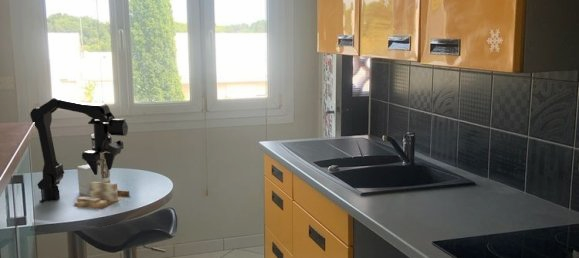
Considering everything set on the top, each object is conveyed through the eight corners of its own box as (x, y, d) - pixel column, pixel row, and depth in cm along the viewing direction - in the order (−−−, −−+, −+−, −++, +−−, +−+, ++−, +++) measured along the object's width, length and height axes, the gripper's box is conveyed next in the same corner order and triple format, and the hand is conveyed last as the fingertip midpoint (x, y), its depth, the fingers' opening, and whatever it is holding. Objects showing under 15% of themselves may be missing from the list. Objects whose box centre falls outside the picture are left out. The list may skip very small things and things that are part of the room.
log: (105, 191, 261) (102, 136, 256) (91, 191, 262) (88, 135, 257) (113, 187, 267) (110, 133, 263) (99, 186, 268) (96, 132, 264)
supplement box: (103, 193, 257) (101, 165, 255) (87, 197, 252) (85, 168, 250) (94, 190, 262) (92, 163, 260) (78, 194, 257) (76, 166, 255)
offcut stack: (74, 205, 238) (73, 198, 238) (80, 202, 242) (79, 195, 242) (102, 208, 235) (101, 201, 234) (108, 205, 239) (107, 198, 238)
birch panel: (90, 198, 248) (89, 182, 247) (93, 197, 250) (92, 181, 248) (115, 200, 245) (114, 184, 243) (117, 199, 246) (117, 183, 245)
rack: (72, 207, 238) (72, 201, 238) (101, 194, 257) (100, 188, 256) (102, 210, 234) (102, 204, 234) (129, 197, 253) (129, 190, 252)
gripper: (104, 140, 229) (105, 179, 232) (131, 132, 247) (132, 168, 250) (80, 138, 233) (81, 176, 236) (108, 130, 250) (109, 166, 253)
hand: (102, 172), depth 243 cm, fingers open, 9 cm apart
